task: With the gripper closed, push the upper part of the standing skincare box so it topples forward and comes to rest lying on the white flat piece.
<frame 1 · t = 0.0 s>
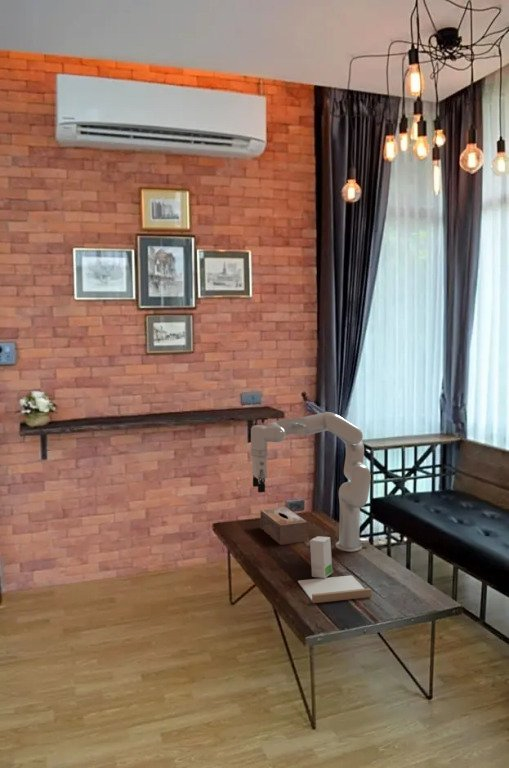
hand: (258, 489, 275), 31 cm above the table, fingers open, 9 cm apart
skincare box: (321, 575, 256), on the table
tissue box cover: (283, 535, 306), on the table
white flat piece: (332, 588, 244), on the table
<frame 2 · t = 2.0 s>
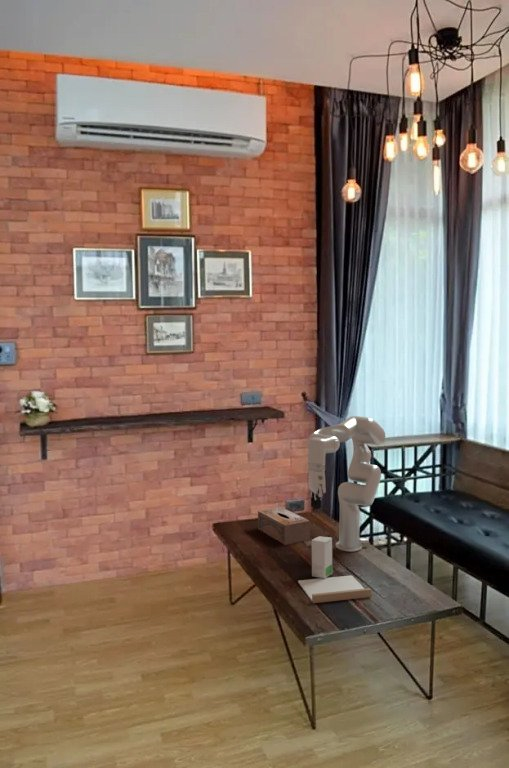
hand: (315, 507, 262), 27 cm above the table, fingers closed
skincare box: (321, 575, 256), on the table, touching white flat piece
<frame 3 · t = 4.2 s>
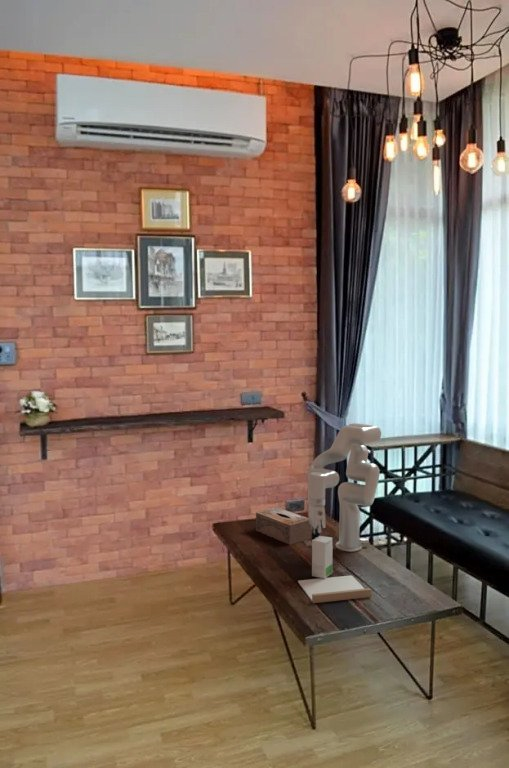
hand: (315, 541, 263), 12 cm above the table, fingers closed
skincare box: (321, 574, 256), on the table, touching gripper, white flat piece
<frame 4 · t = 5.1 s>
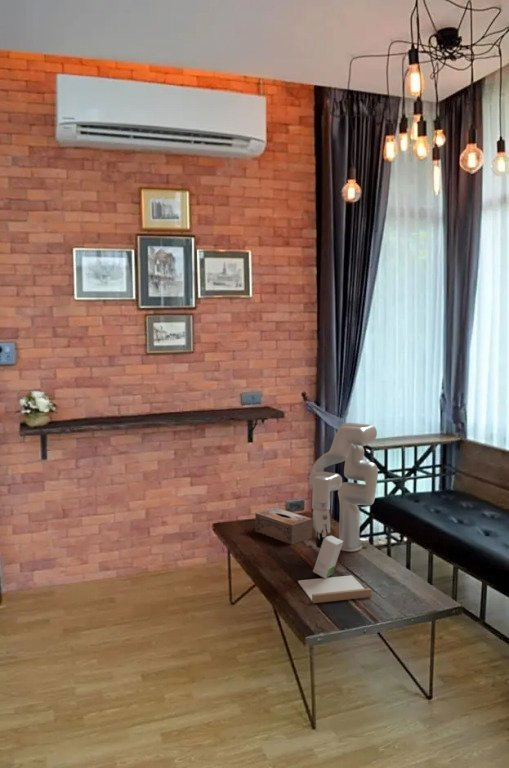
hand: (320, 546, 257), 12 cm above the table, fingers closed
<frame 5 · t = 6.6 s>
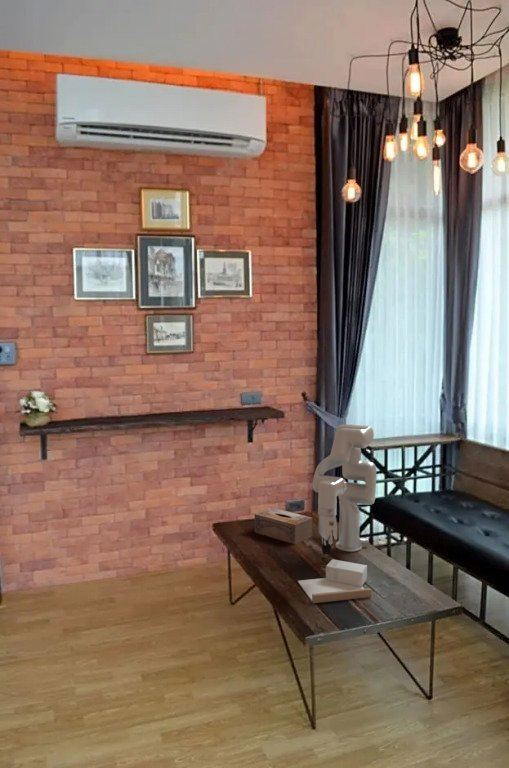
hand: (326, 553, 250), 12 cm above the table, fingers closed
skincare box: (328, 568, 254), point 4 cm above the table, touching white flat piece
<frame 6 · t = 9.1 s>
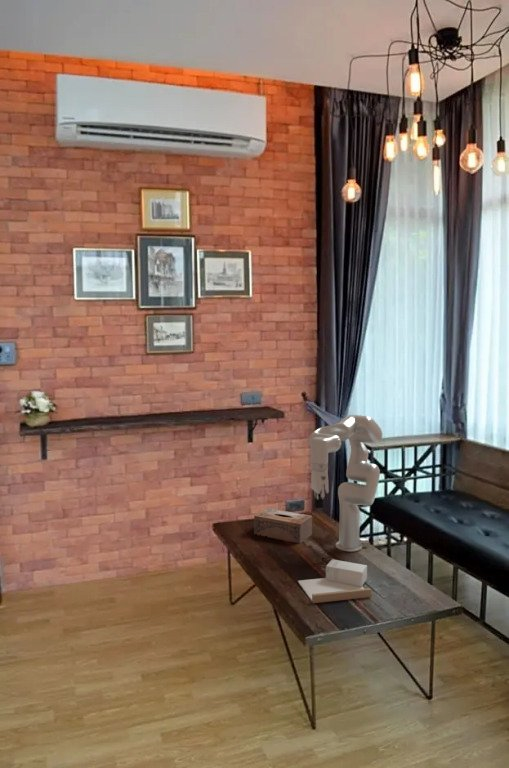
hand: (318, 507, 259), 28 cm above the table, fingers closed
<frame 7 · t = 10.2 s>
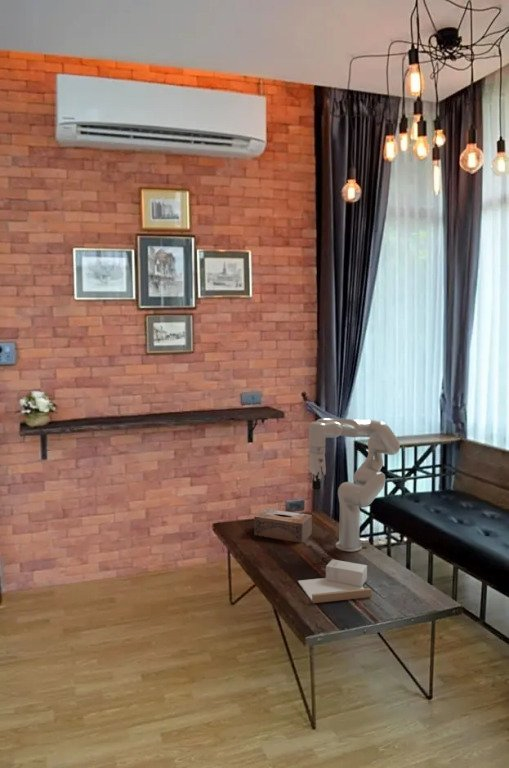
hand: (316, 488, 273), 32 cm above the table, fingers closed
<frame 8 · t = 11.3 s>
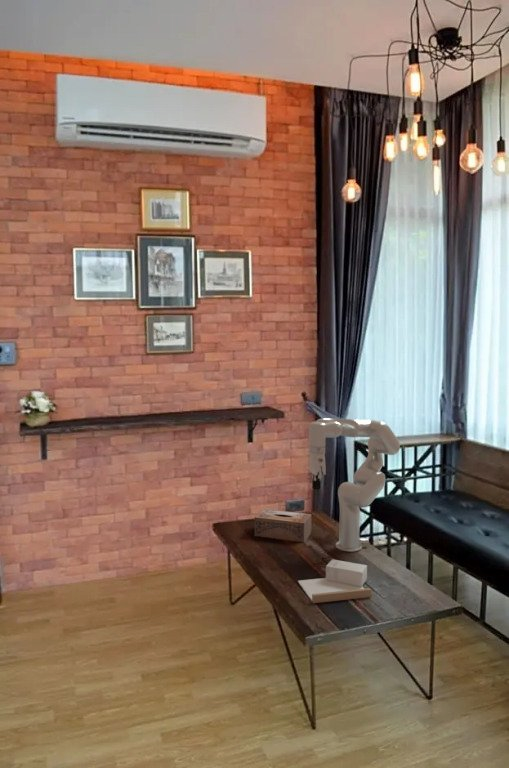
hand: (316, 488, 273), 32 cm above the table, fingers closed
at the end: skincare box tilted 91°; skincare box inside the target area (11.5 cm from its centre), point 4.0 cm above the table; the gripper is holding nothing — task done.
